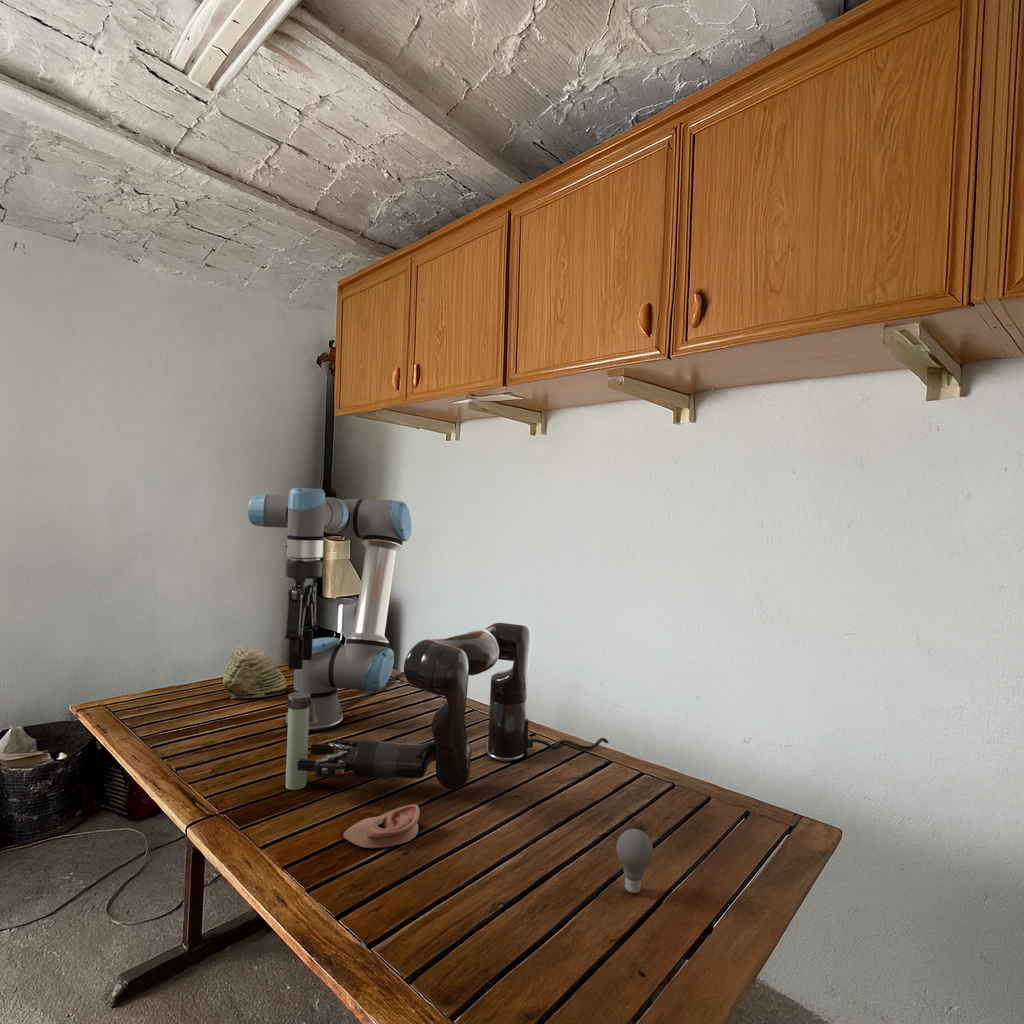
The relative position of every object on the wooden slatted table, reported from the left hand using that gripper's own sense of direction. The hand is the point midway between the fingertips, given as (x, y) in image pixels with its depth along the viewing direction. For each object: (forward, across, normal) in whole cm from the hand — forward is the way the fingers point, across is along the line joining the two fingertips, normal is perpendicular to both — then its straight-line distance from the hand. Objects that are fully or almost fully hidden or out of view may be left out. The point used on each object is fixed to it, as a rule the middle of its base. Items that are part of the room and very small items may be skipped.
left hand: (300, 663), depth 138 cm
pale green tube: (+27, 0, 0) cm, 27 cm away
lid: (+7, 0, 0) cm, 7 cm away
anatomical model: (+27, +19, +22) cm, 40 cm away
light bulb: (+27, +36, +66) cm, 80 cm away
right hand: (+20, 0, +2) cm, 20 cm away
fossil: (+27, -61, -30) cm, 73 cm away
